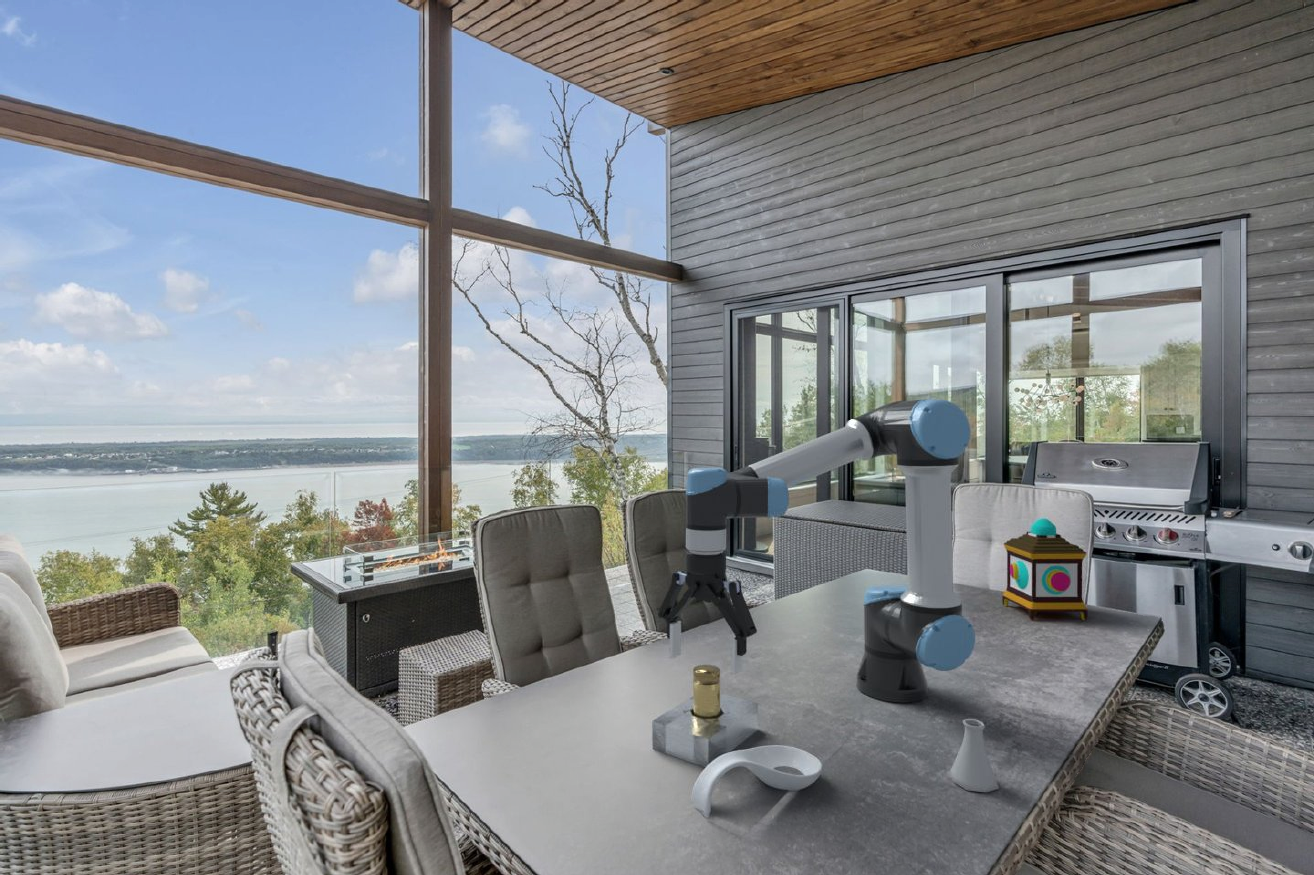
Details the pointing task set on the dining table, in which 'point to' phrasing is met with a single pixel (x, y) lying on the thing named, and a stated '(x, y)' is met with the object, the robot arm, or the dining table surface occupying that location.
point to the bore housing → (704, 730)
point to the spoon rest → (758, 771)
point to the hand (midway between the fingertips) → (705, 664)
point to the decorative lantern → (1044, 572)
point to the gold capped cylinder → (706, 691)
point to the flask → (973, 761)
